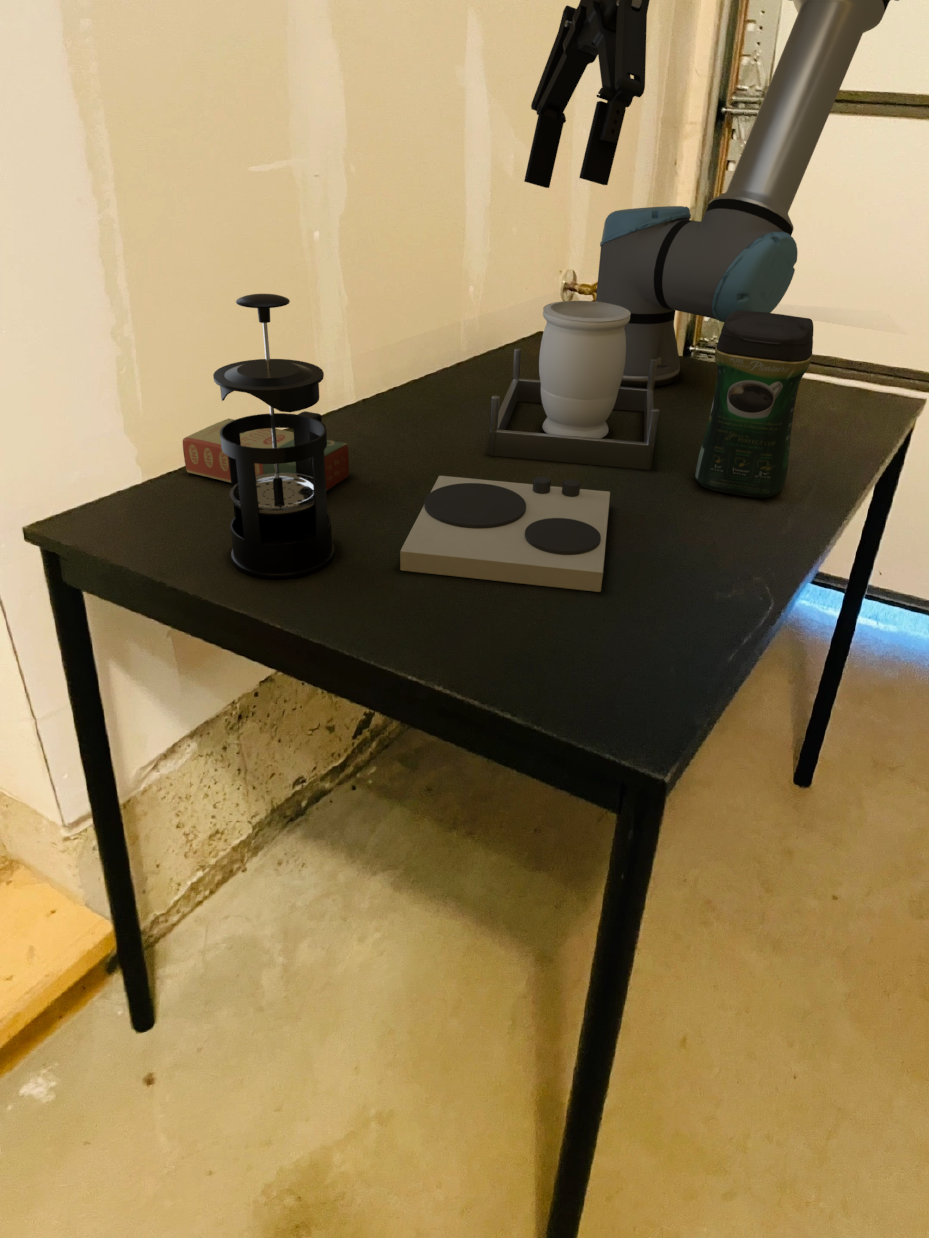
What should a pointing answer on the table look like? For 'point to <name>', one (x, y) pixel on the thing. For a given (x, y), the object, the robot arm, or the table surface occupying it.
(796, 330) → the coffee jar
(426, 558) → the stove
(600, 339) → the jar
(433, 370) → the table surface
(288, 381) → the french press
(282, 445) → the carton
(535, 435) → the rack
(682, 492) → the table surface
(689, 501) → the table surface
